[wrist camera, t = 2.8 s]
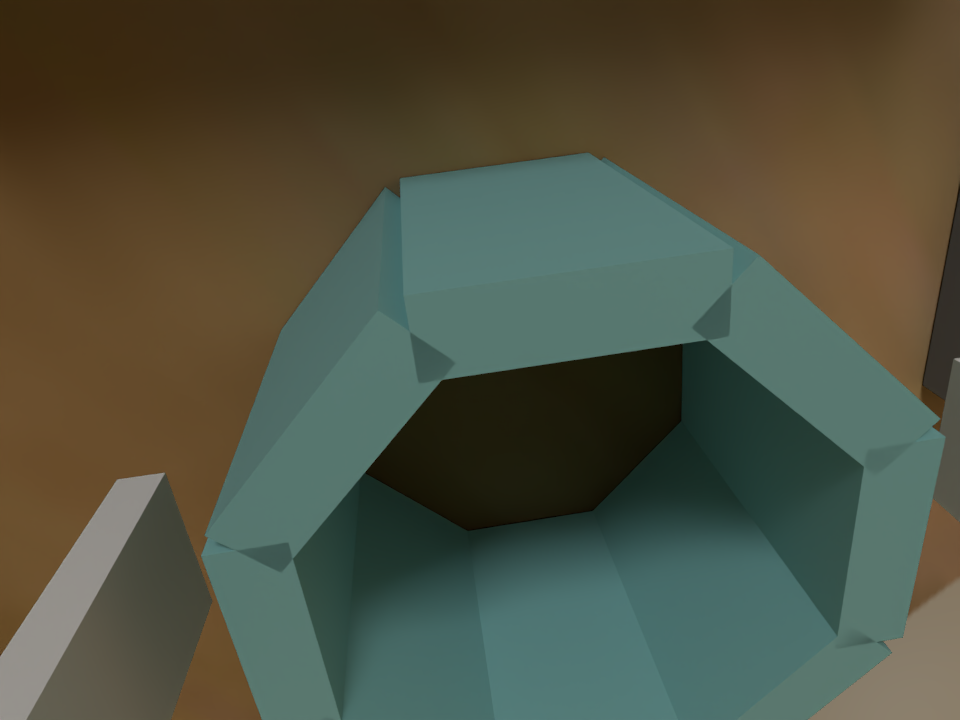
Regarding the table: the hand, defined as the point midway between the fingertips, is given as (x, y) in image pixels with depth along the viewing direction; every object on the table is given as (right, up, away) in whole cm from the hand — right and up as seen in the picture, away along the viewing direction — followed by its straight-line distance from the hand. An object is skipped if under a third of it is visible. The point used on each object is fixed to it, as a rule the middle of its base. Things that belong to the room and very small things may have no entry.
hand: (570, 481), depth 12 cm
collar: (-1, +2, +3) cm, 3 cm away
